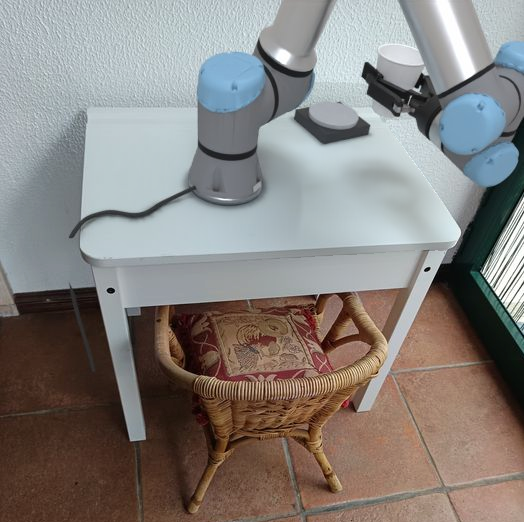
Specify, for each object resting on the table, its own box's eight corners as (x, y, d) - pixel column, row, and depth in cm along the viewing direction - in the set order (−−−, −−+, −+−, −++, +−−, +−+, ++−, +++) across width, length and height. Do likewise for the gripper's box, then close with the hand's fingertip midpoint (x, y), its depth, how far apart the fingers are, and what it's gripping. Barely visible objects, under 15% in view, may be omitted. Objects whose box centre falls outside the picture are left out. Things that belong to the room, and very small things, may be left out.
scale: (323, 144, 117) (326, 130, 114) (294, 118, 123) (296, 105, 121) (368, 134, 122) (371, 121, 120) (337, 110, 129) (340, 97, 126)
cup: (407, 104, 104) (426, 48, 96) (411, 126, 98) (431, 68, 90) (361, 97, 104) (376, 39, 96) (362, 118, 98) (378, 59, 89)
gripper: (388, 148, 86) (333, 90, 99) (484, 138, 92) (421, 85, 105) (402, 105, 80) (342, 49, 93) (503, 98, 86) (434, 46, 99)
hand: (384, 68), depth 99 cm, fingers closed on cup, 8 cm apart
